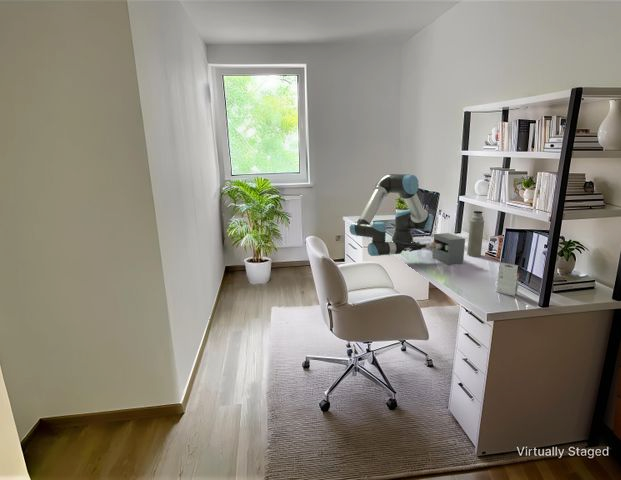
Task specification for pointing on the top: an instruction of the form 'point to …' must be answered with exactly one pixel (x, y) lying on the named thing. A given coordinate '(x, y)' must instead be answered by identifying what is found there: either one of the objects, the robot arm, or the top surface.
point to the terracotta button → (434, 244)
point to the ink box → (507, 279)
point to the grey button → (439, 246)
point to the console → (449, 248)
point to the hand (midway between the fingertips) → (429, 245)
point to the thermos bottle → (475, 234)
